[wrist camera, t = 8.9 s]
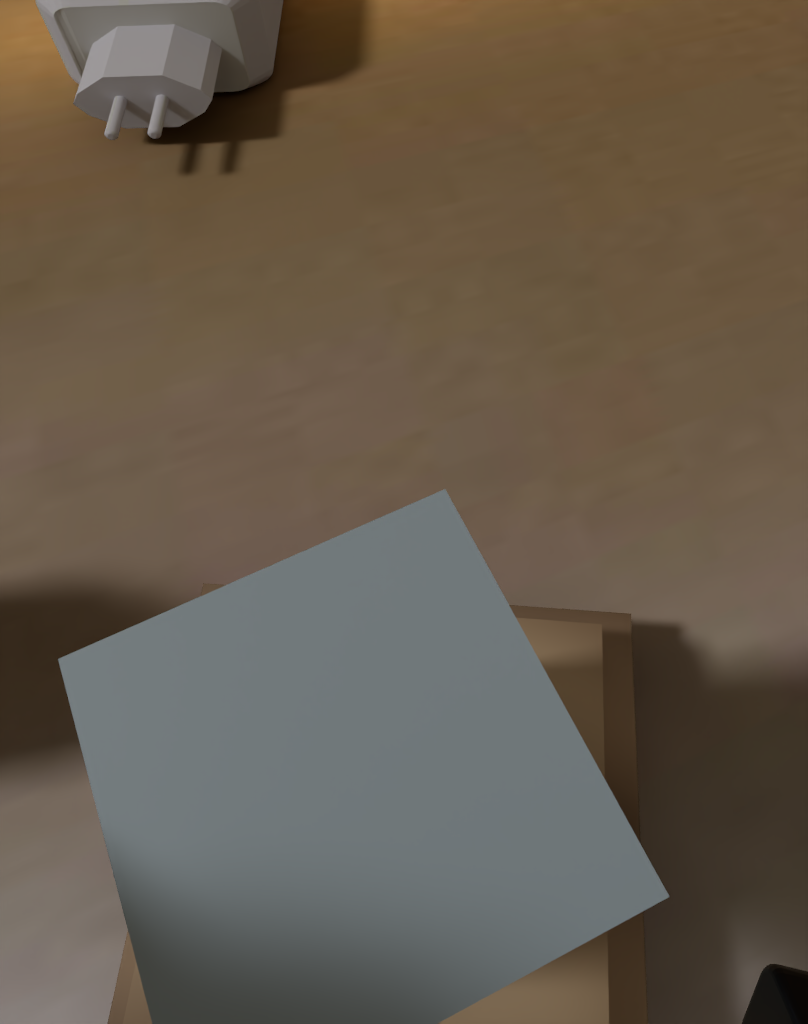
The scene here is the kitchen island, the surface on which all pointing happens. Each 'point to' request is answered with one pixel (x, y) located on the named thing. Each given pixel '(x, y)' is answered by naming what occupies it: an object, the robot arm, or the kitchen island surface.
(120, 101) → the charger
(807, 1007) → the robot arm
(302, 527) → the kitchen island surface
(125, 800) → the grey block
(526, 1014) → the top slab
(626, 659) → the bottom slab
